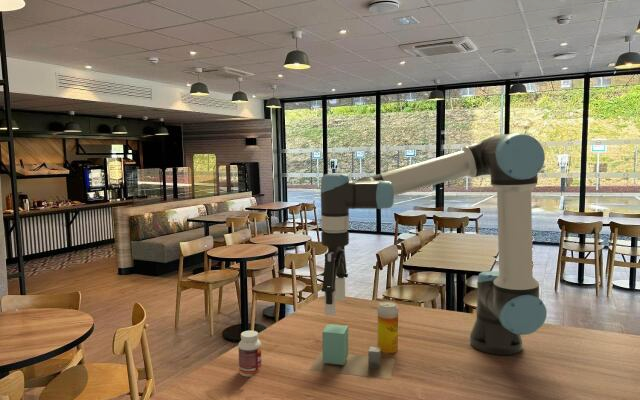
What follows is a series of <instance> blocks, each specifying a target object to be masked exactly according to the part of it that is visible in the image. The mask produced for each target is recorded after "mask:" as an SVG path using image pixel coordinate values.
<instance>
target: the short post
mask: <svg viewBox="0 0 640 400" xmlns="http://www.w3.org/2000/svg"><path fill="white" fill-rule="evenodd" d="M381 355H382V352H381V348H379V347H376V346H369V349H368V354H367V356H368V369H376V370H379V369H380V366H381V358H382V357H381Z"/></svg>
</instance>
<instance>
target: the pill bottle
mask: <svg viewBox="0 0 640 400" xmlns="http://www.w3.org/2000/svg"><path fill="white" fill-rule="evenodd" d="M240 339H241V340H240V341H239V342H238V345H237V346H238V372H239V374H240V375H241V376H242V377H246V378H249V377H252V376H253V375H254V374H255V373H258V372H260V371H261V369H262V343H261V340H260V339H259V332H258V331H256V330H245V331H242V332H241V333H240Z"/></svg>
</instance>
